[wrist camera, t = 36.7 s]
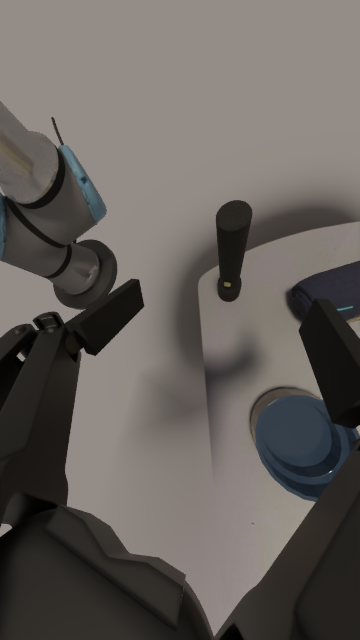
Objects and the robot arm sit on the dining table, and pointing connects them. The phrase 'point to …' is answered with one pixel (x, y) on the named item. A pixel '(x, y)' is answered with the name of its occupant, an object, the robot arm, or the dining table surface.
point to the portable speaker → (331, 291)
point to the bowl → (299, 441)
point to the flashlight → (232, 246)
